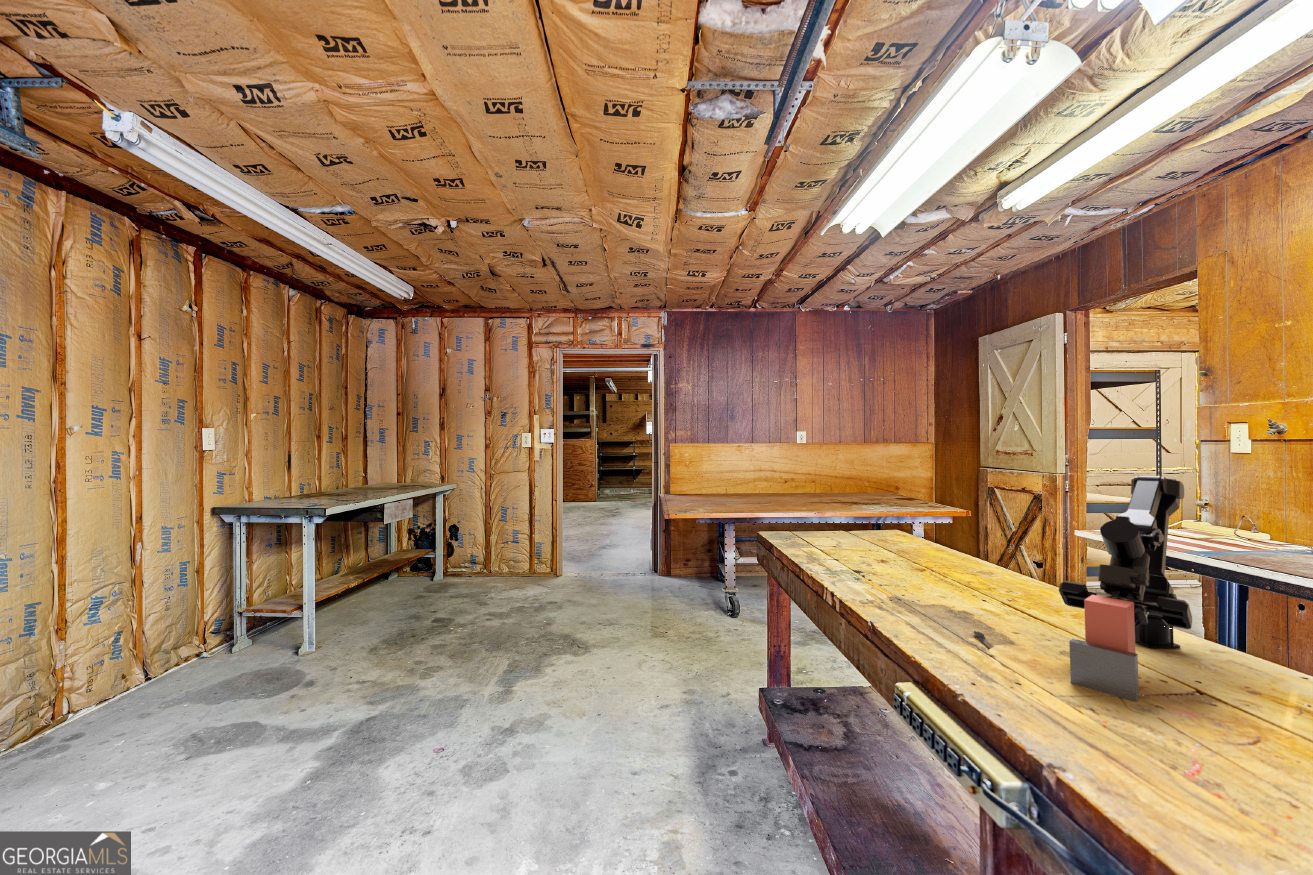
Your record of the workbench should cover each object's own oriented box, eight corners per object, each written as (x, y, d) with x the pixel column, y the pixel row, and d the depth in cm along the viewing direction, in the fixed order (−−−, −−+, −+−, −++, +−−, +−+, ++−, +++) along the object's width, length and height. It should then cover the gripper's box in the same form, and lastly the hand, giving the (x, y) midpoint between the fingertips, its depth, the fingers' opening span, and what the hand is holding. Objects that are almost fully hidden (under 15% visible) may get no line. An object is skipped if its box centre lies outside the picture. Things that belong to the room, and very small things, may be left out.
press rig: (1090, 667, 103) (1089, 622, 103) (1158, 685, 95) (1157, 637, 95) (1067, 688, 95) (1065, 640, 95) (1140, 710, 87) (1138, 658, 87)
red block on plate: (1094, 672, 98) (1092, 594, 98) (1136, 683, 93) (1133, 601, 94) (1086, 679, 95) (1084, 599, 96) (1129, 692, 91) (1126, 607, 91)
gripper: (1060, 541, 107) (1043, 605, 100) (1187, 556, 92) (1177, 632, 85) (1073, 573, 112) (1057, 635, 105) (1196, 591, 97) (1187, 666, 90)
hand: (1114, 641), depth 96 cm, fingers closed
